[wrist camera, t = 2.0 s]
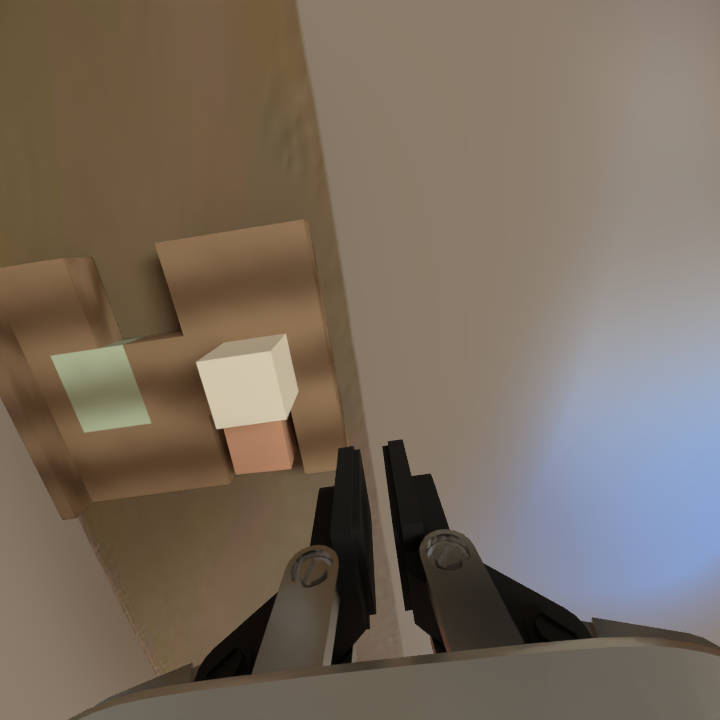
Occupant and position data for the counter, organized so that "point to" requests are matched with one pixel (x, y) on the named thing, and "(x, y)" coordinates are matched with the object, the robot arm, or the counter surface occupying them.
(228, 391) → the cream cube
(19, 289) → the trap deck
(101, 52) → the counter surface
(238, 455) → the salmon block
